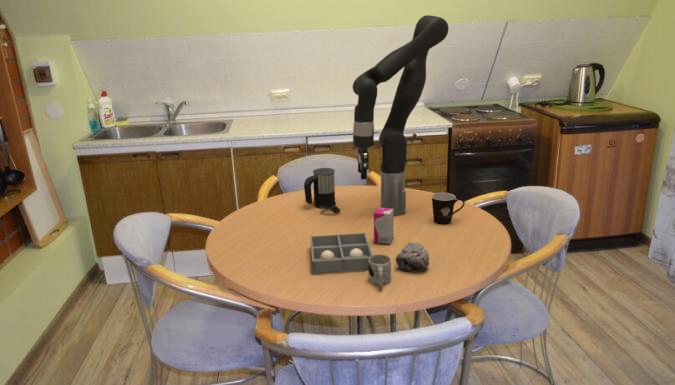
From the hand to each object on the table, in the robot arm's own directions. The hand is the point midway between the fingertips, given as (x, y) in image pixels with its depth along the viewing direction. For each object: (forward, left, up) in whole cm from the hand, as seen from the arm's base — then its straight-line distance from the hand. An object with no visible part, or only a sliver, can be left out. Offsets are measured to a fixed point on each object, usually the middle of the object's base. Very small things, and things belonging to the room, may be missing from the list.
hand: (362, 175), depth 193 cm
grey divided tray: (+12, +32, -17) cm, 39 cm away
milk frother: (+13, -14, -18) cm, 26 cm away
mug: (+2, +49, -18) cm, 53 cm away
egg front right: (+16, +37, -17) cm, 44 cm away
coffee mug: (-30, +8, -18) cm, 36 cm away
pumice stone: (-9, +41, -18) cm, 46 cm away
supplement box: (-4, +21, -18) cm, 28 cm away
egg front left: (+7, +37, -17) cm, 41 cm away
